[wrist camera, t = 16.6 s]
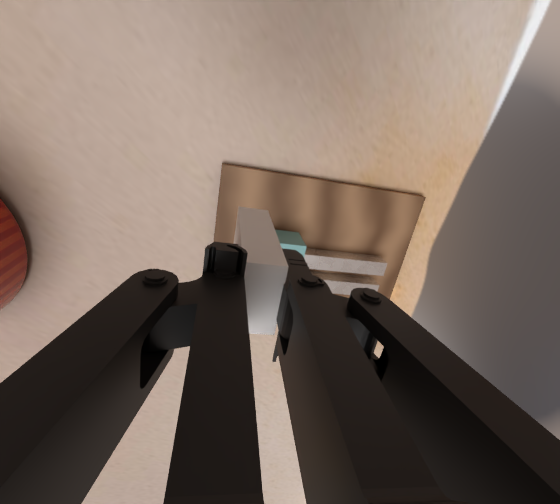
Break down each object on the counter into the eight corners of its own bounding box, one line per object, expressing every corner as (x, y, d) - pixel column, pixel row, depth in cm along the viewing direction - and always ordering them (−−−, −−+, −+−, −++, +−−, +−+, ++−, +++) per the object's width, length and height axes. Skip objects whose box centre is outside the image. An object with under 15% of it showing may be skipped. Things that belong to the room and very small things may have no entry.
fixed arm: (217, 274, 45) (216, 282, 43) (218, 261, 44) (218, 269, 42) (368, 288, 50) (375, 297, 47) (372, 277, 49) (379, 285, 47)
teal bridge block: (258, 291, 47) (261, 310, 42) (270, 228, 43) (274, 242, 39) (285, 293, 47) (291, 313, 43) (298, 232, 44) (306, 246, 39)
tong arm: (246, 256, 45) (247, 264, 42) (249, 239, 44) (250, 246, 41) (375, 269, 48) (382, 277, 46) (380, 253, 47) (388, 261, 45)
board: (207, 294, 47) (207, 298, 46) (222, 163, 40) (222, 164, 39) (381, 308, 53) (384, 312, 52) (420, 195, 46) (425, 197, 45)
